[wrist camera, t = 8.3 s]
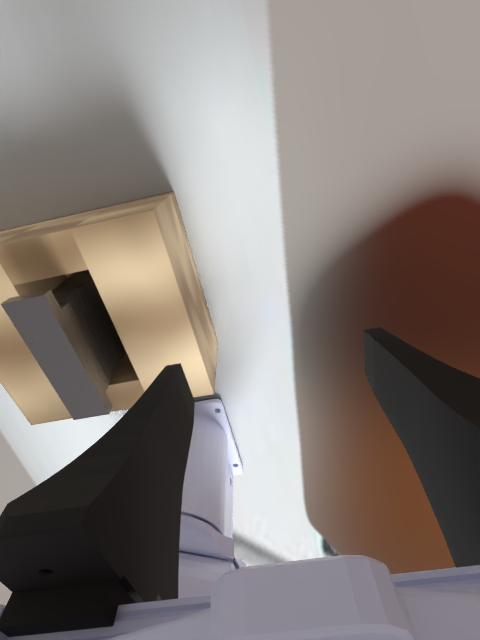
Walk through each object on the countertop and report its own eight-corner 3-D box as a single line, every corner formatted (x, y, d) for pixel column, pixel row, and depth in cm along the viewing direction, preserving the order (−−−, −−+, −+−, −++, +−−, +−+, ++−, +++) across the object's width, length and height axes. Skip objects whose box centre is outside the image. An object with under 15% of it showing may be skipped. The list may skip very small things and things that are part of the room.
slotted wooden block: (218, 343, 25) (213, 394, 20) (69, 371, 26) (31, 425, 21) (173, 191, 20) (153, 210, 15) (-11, 234, 21) (-86, 264, 16)
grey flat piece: (142, 341, 24) (109, 413, 17) (115, 346, 24) (73, 419, 18) (102, 246, 20) (43, 295, 14) (71, 253, 20) (0, 304, 14)
